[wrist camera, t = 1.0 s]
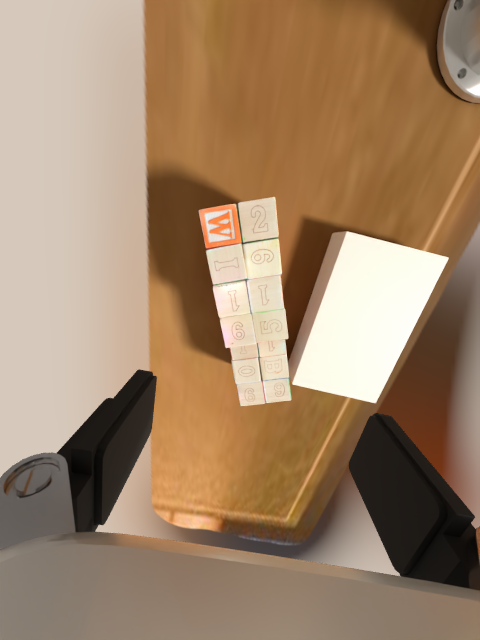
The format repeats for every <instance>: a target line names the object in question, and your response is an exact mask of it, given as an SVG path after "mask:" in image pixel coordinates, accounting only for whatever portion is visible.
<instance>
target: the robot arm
mask: <svg viewBox="0 0 480 640" xmlns="http://www.w3.org/2000/svg"><path fill="white" fill-rule="evenodd" d="M437 55H438V63H439V67H440V71H441V74H442V76H443V78H444V80H445V82H446V84H447V85H448V87H449V88H450V89H451V90H452V91H453V93H455V94H456V95H458V96H459V97H460V98H462V99H464V100H467V101H469V102H472V103H480V0H447V3H446V6H445V8H444V11H443V14H442V17H441V21H440V25H439V30H438V39H437ZM156 381H157V377H156V376H153V373H152V372H150V371H144V370H137V371H136V373H135V374H134V375H133V376H132V377H131V379H130V380H129V381H128V382H127V383H126V384H125V385H124V387H123V388H122V389H121V390H120V391H119V392H118V394H117V395H116V396H115V397H114V398H108V399H106V400H105V401H103V403H102V404H101V405H100V406H99V407H98V408H97V409H96V410H95V411H94V412H93V414H92V415H91V416H90V417H89V418H88V419H87V420H86V421H85V422H84V423H83V425H82V426H81V427H80V428H79V429H78V430H77V431H76V432H75V434H74V435H73V436H72V437H71V438H70V439H69V440H68V441H67V442H66V443H65V445H64V446H63V447H62V448H61V449H60V450H59V451H58V452H57V453H41V454H37V455H33V456H30V457H28V458H26V459H23V460H21V461H20V462H18V463H16V464H15V465H13V466H12V467H11V468H10V469H8V470H7V471H6V472H5V473H4V474H3V475H2V476H1V478H0V640H480V526H479V527H478V528H476V529H475V528H474V527H473V526H472V524H471V522H472V521H473V519H474V518H475V516H474V515H473V514H472V513H471V511H470V510H469V509H468V508H467V506H466V505H465V504H464V503H463V502H462V500H461V499H460V498H459V497H458V496H457V494H456V493H455V492H454V491H453V490H452V488H451V487H450V486H449V485H448V484H447V482H446V481H445V480H444V479H443V478H442V476H441V475H440V474H439V473H438V472H437V470H436V469H435V468H434V467H433V466H432V465H431V463H430V462H429V461H428V460H427V458H426V457H425V456H424V455H423V454H422V453H421V452H420V450H419V449H418V448H417V447H416V445H415V444H414V443H413V442H412V441H411V439H410V438H409V437H408V436H407V435H406V433H404V431H403V430H402V429H401V427H400V426H399V425H398V424H397V423H396V421H395V420H394V419H393V418H392V417H391V416H389V415H383V414H378V413H375V414H374V415H373V416H370V417H369V419H368V421H367V423H366V426H365V428H364V430H363V432H362V434H361V437H360V439H359V441H358V443H357V446H356V448H355V450H354V452H353V455H352V457H351V459H350V462H349V469H350V472H351V474H352V477H353V479H354V481H355V483H356V485H357V488H358V490H359V492H360V494H361V496H362V499H363V501H364V503H365V505H366V508H367V510H368V512H369V514H370V516H371V518H372V521H373V523H374V525H375V527H376V529H377V532H378V534H379V536H380V538H381V541H382V543H383V545H384V547H385V550H386V552H387V554H388V556H389V558H390V560H391V563H392V565H393V567H394V568H395V570H396V571H397V572H399V573H400V576H395V575H389V574H383V573H376V572H371V571H364V570H359V569H353V568H347V567H340V566H334V565H328V564H322V563H315V562H309V561H303V560H296V559H290V558H284V557H277V556H272V555H265V554H259V553H252V552H246V551H239V550H233V549H226V548H220V547H213V546H207V545H200V544H194V543H187V542H181V541H174V540H165V539H158V538H151V537H142V536H135V535H128V534H117V533H104V532H95V530H96V529H97V527H98V525H104V524H105V522H106V520H107V519H108V517H109V515H110V513H111V511H112V509H113V507H114V505H115V503H116V501H117V499H118V497H119V495H120V493H121V491H122V489H123V487H124V485H125V483H126V481H127V479H128V477H129V475H130V473H131V471H132V469H133V467H134V465H135V463H136V461H137V459H138V457H139V455H140V453H141V451H142V449H143V447H144V445H145V443H146V441H147V439H148V437H149V435H150V433H151V429H152V422H153V412H154V401H155V391H156Z"/></svg>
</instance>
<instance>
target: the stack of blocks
mask: <svg viewBox="0 0 480 640" xmlns="http://www.w3.org/2000/svg"><path fill="white" fill-rule="evenodd" d="M199 216H200V221H201V226H202V231H203V236H204V242H205V246H206V255H207V260H208V265H209V269H210V274H211V279H212V283H213V293H214V297H215V302H216V307H217V311H218V316H219V318H220V324H221V329H222V333H223V338H224V343H225V347H226V348H230V352H231V357H232V360H231V362H232V368H233V374H234V379H235V383H236V384H237V390H238V395H239V401H240V406H246V405H255V404H265V403H270V402H279V401H288V400H291V391H290V383H289V370H288V361H287V350H286V342H285V339H288V330H287V321H286V312H285V308H284V301H283V292H282V283H281V274H282V268H281V259H280V248H279V240H278V236H279V232H278V221H277V209H276V200H275V197H271V198H265V199H259V200H252V201H246V202H240V203H238V204H237V205H236V204H229V205H223V206H217V207H211V208H205V209H201V210H199Z"/></svg>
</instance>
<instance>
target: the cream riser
mask: <svg viewBox="0 0 480 640" xmlns="http://www.w3.org/2000/svg"><path fill="white" fill-rule="evenodd" d="M448 259H449V258H448V257H444V256H440V255H436V254H432V253H429V252H425V251H421V250H417V249H413V248H409V247H406V246H402V245H398V244H394V243H390V242H386V241H383V240H379V239H375V238H371V237H367V236H363V235H360V234H356V233H352V232H348V231H345V232H336V233H332V236H331V239H330V242H329V245H328V248H327V251H326V254H325V257H324V260H323V262H322V265H321V268H320V271H319V274H318V277H317V280H316V283H315V286H314V289H313V292H312V295H311V298H310V300H309V303H308V306H307V309H306V312H305V315H304V318H303V321H302V324H301V327H300V330H299V333H298V336H297V339H296V341H295V344H294V347H293V350H292V353H291V356H290V359H289V362H288V370H289V376H290V379H291V382H292V384H293V385H298V386H302V387H307V388H311V389H315V390H320V391H324V392H329V393H333V394H337V395H342V396H346V397H351V398H355V399H360V400H364V401H368V402H373V403H376V401H377V399H378V397H379V395H380V393H381V392H382V390H383V388H384V386H385V384H386V382H387V380H388V378H389V376H390V374H391V372H392V370H393V368H394V366H395V364H396V362H397V360H398V358H399V356H400V354H401V352H402V350H403V348H404V346H405V344H406V342H407V340H408V338H409V336H410V334H411V332H412V330H413V328H414V326H415V324H416V322H417V320H418V318H419V316H420V314H421V312H422V310H423V308H424V306H425V304H426V302H427V300H428V298H429V296H430V294H431V292H432V290H433V288H434V286H435V284H436V282H437V280H438V278H439V276H440V274H441V272H442V270H443V268H444V267H445V265H446V263H447V261H448Z"/></svg>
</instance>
